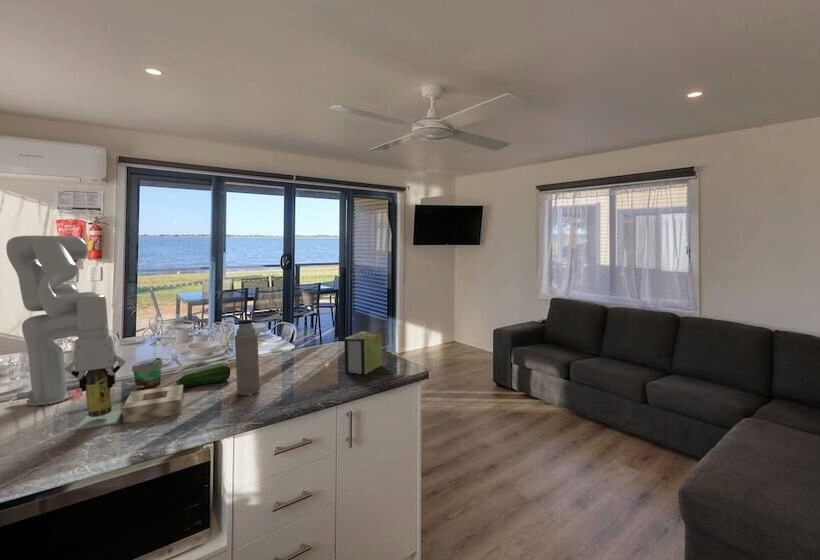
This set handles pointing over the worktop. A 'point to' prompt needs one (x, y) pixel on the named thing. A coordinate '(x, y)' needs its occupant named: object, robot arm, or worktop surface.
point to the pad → (100, 420)
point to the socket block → (153, 403)
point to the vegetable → (205, 376)
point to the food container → (148, 374)
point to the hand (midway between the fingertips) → (98, 387)
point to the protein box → (362, 352)
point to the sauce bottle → (98, 393)
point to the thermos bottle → (247, 358)
